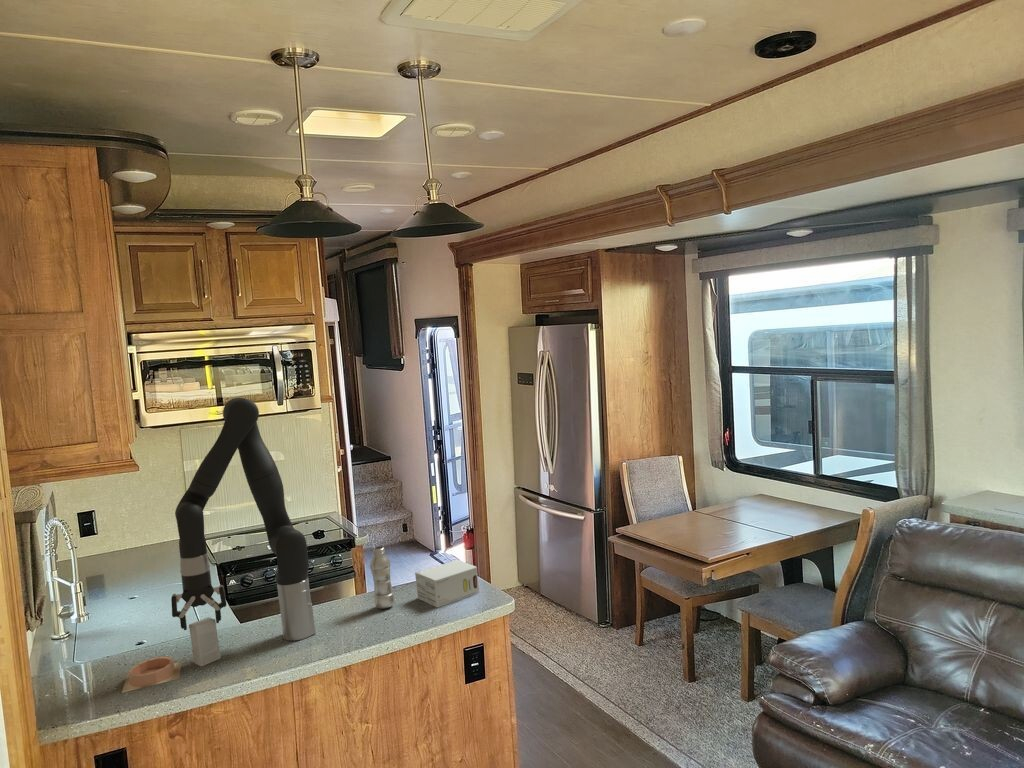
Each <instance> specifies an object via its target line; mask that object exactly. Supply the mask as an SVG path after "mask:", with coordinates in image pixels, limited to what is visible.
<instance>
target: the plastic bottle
mask: <svg viewBox="0 0 1024 768" xmlns="http://www.w3.org/2000/svg"><path fill="white" fill-rule="evenodd" d="M385 553H386V550H385V546H381V545H380V546H375V547H373V548H372V555H373V557H372V558H371V560H370V562H369V569H370V571H371V574H372V575H371V576H372V580H373V588H374V595H373V603H374V605H375V607H376V608H377V609H379V610H380V609H383V610H384V609H389V608H390V607H393V606H394V604H395V602H396V601H395V599H396V598H395V594H394V591H393V587H392V582H391V560H390V559H389V558H388V556H387V555H386V554H385Z"/></svg>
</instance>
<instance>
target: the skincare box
mask: <svg viewBox="0 0 1024 768" xmlns="http://www.w3.org/2000/svg"><path fill="white" fill-rule="evenodd" d="M188 627H189V628H188V629H189V635H190V642H191V648H192V655H193V663H194V665H197V666H199V667H204V666H206V665H208V664H211V663H213V662H215V661H217V660H220V659H221V658H222V657H221V651H220V644H219V636H218V630H217V624H216V618H215V619H214V618H211V617H209V616H208V617H205V618H202V619H200V620H198V621H195V622H193V623H189V624H188Z"/></svg>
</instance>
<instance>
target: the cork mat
mask: <svg viewBox="0 0 1024 768" xmlns="http://www.w3.org/2000/svg"><path fill="white" fill-rule="evenodd" d="M174 666H175V671H174V674H173V675H171V676H170V677H169V678H168V679H165V680H163V681H161V682H159V683H156V684H152V685H148V686H137V687H135V686H133V685H131V684H130V681H129V673H128V674H127V675H126V677H125V681H124V683H123V687H122V691H121V693H127V692H131V691H134V690H139V689H143V688H147V687H152V686H154V685H160V684H163V683H166V682H167V683H168V682H171V681H176V680H179V679H180V675H181V668H182V661H179V662H174Z"/></svg>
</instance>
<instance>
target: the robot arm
mask: <svg viewBox="0 0 1024 768" xmlns="http://www.w3.org/2000/svg"><path fill="white" fill-rule="evenodd" d="M222 416H223V420H224V422H223V425H222V428H221V431H220V433H219V435H218V437H217V439H216V440H215V442H214V443H213V445H212V447H211V448H210V450H209V451H208V452H207V454H206V455H205V457H204V459H203V460H202V462H201V463H200V464H199V467H198V468H197V470H196V472H195V473H194V475H193V477H192V480H191V482H190V485H189V486H188V488H187V489H186V491H185V493H184V494H183V495H182V497H181V499H180V500H179V502H178V504H177V506H176V509H175V510H174V511H175V512H174V515H175V520H176V524H177V532H178V537H179V539H178V548H179V550H178V551H179V557H180V558H179V560H180V561H179V564H180V576H181V583H182V593H179V594H176V593H172V595H171V599H170V600H171V601H170V602H171V616H172V618H179V621H180V629H183V631H187V629H188V627H187V625H188V624H187V619H186V618H187V617H186V616H187V615H186V614H187V612H188V611H189V610H190V608H191V607H193V608H196V607H199V606H202V607H203V606H206V604H207V605H208V606H210V607H212V608H213V610H214V614H215V615H214V617H215V622H216V625H217V624H220V622H221V621H222V611H221V609H222V608H226V607H227V600H226V592H225V586H224V585H223V584H220V585H219V586H216V587H213V585H212V577H211V569H210V568H211V567H210V566H211V565H210V560H209V557H208V550H207V549H208V548H207V541H206V537H205V519H204V518H205V515H204V509H205V507H206V506H207V503H208V501H209V500H210V498H211V497H212V496H213V495H214V494H215V493H216V491H217V489H218V487H219V485H220V483H221V481H222V479H223V477H224V475H225V473H226V470H228V467H229V465H230V464H231V462H232V459H233V457H234V455H235V453H236V452H237V451H238V453H239V458H240V462H241V466H242V468H243V472H244V476H245V479H246V481H247V484H248V487H249V490H250V493H251V495H252V497H253V500H254V502H255V505H256V507H257V509H258V511H259V513H260V515H261V519H262V521H263V524H264V528H265V532H266V537H267V541H268V545H269V548H270V550H271V552H272V553H273V554H274V555H275V556H276V562H277V572H276V574H275V578H276V580H275V581H276V587H277V588H276V589H277V595H278V603H279V610H280V611H279V612H280V618H281V619H280V620H281V627H282V636H283V639H284V640H285V639H286V641H289V640H290V641H291V642H292V640H293V641H300V640H304V639H306V638H309V637H310V636H313V635H317V634H316V625H315V618H314V617H315V616H314V609H313V603H312V599H311V590H310V581H309V573H308V572H309V567H310V565H309V552H308V551H309V550H308V544H307V543H308V542H307V540H306V537H305V535H304V534H303V533H302V532H301V531H300V530H298V529H296V528H295V527H294V525H293V523H292V520H291V519H290V517H289V514H288V512H287V509H286V505H285V501H286V500H285V491H284V484H283V480H282V477H281V474H280V473H279V469H278V467H277V465H276V462H275V461H274V458H273V456H272V454H271V452H270V450H269V449H268V447H267V446H266V444H265V442H264V440H263V438H262V435H261V432H260V429H259V426H258V420H259V416H260V412H259V408H258V406H257V404H256V403H255V402H254V401H252V400H251V399H248V398H243V397H234V398H231V399H230V400H228V401H227V402H226V403H225V405H224V407H223V410H222ZM214 593H216V594H217V595H219V596H220V597H219V598H220V602H219V603H218V601H216V600H215V598H213V595H214ZM181 599H182V600H183V601H184V602H185V604H184V606H183V607H182V608H181V611H180V610H178V603H180V600H181Z"/></svg>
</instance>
